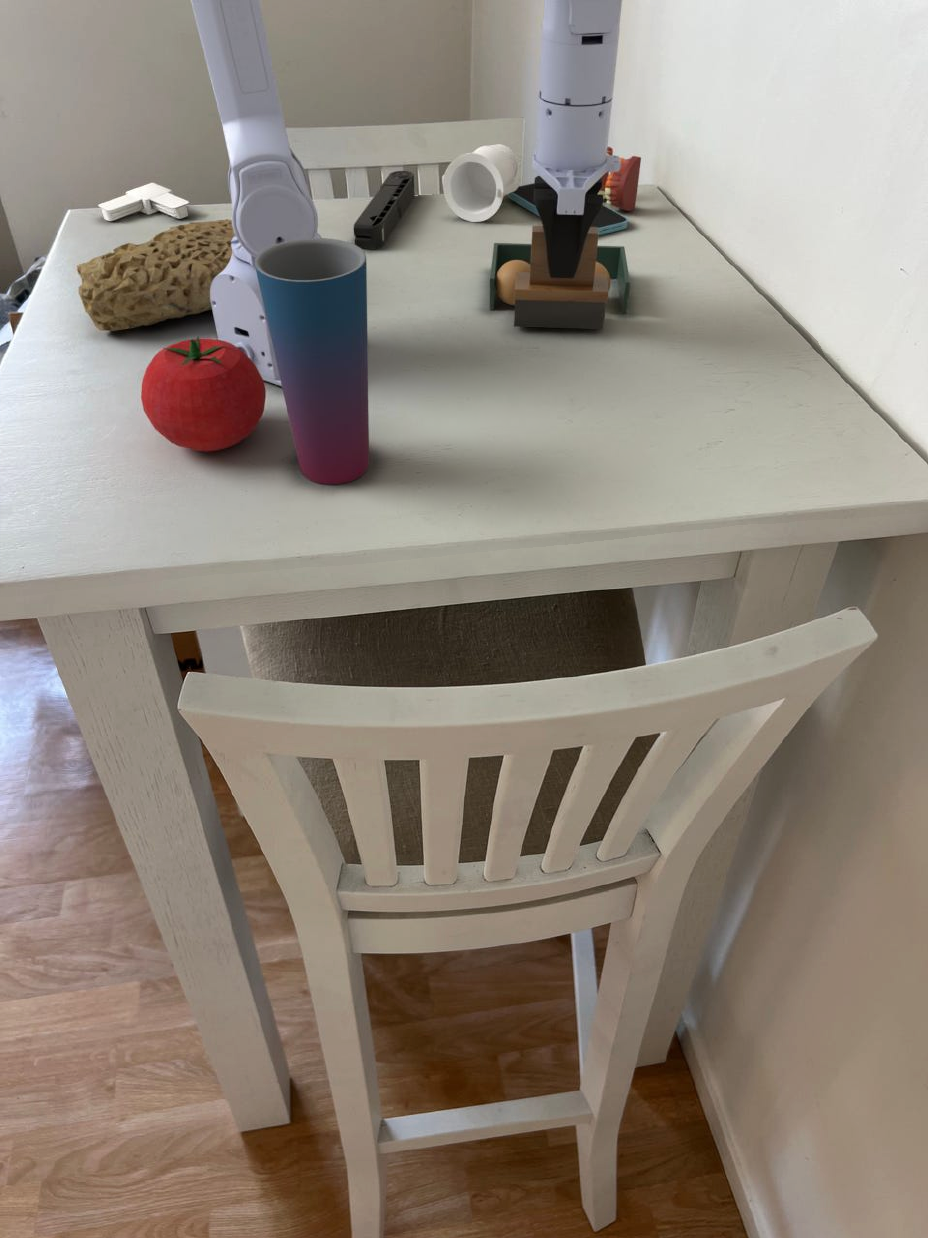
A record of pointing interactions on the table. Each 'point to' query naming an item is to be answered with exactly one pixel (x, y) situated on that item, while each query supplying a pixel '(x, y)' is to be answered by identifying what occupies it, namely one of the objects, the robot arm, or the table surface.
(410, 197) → the tablet stand
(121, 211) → the corner connector
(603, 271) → the ball
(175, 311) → the sponge
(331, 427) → the cup
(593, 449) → the table surface
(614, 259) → the green u-shaped pusher
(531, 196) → the smartphone
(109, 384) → the table surface
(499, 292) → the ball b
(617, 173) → the dentures
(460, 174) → the downlight
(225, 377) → the tomato
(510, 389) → the table surface
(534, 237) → the brush
